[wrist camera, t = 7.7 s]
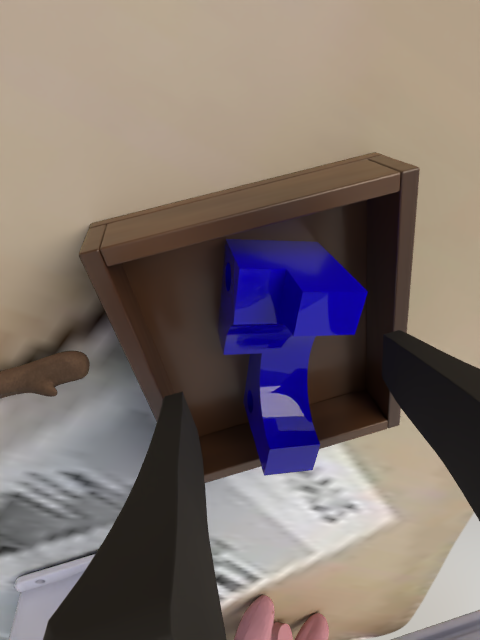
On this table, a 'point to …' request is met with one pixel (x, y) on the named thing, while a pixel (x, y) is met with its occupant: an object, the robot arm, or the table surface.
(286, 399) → the cable holder
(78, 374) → the brown humanoid figurine
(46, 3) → the table surface
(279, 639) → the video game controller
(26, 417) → the table surface
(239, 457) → the box
